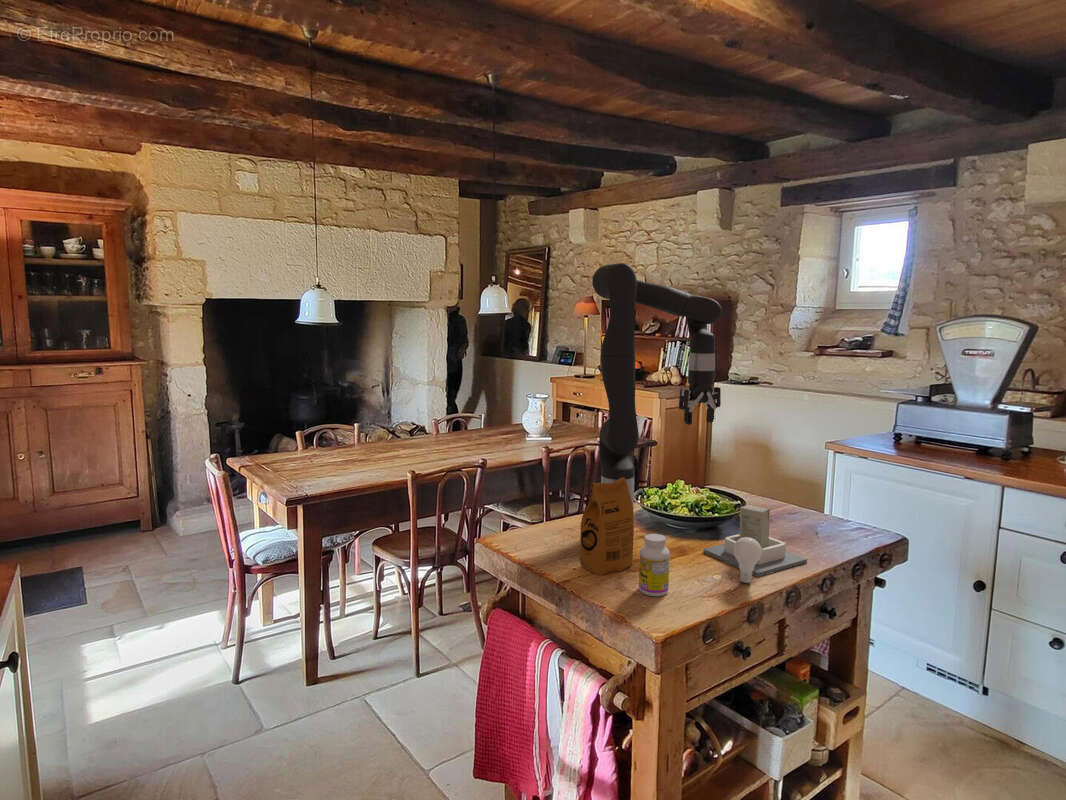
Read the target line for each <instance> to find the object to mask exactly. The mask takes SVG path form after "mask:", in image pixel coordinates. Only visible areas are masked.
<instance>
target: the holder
mask: <svg viewBox="0 0 1066 800" xmlns="http://www.w3.org/2000/svg"><path fill="white" fill-rule="evenodd" d="M739 539H740V533H739V534H735V535H730V536H726V537H725V538H724V539H723V540H724V541H723V543H722V544H718V545H714V546H710V547H706V548H705V547H704V548H703V552H704V553H703V554H706V555H708V554H709V555H708V556H710V555H711V556H710V557H712V556H713V558H714V557H715V559H717V560H719V559H720V560H719V561H721V560H722V561H721V562H723V561H724V562H723V563H725V562H726V563H725V564H728V565H730V564H731V565H730V566H732V565H733V566H732V567H734V566H735V568H736V567H737V569H739V570H740V568H739V563H738V561H737V560H736V558H735V556H734V553H733V547H734V544H735V543H736V541H737V540H739ZM806 562H808V558H806V557H803V556H800V555H797V554H795V553H793V552H790V551H787V543H786V542H784V541H781V540H779V539H776V538H774V537H771V536H769V547H766V548H762V555H761V558H760V560H759V561H758V562H757V563H756V564H755V567H754V570H753V571H752V576H754V575H755V576H754V577H756V576H759V577H762V576H765V575H764V574H766V575H768V574H767V573H769V574H772V573H771V572H773V573H776V572H779V571H778V570H780V571H783V570H782V569H784V570H786V569H785V568H787V569H790V568H789V567H791V568H793V567H792V566H794V567H796V566H795V565H798V566H800V565H799V564H801V565H803V564H802V563H805V564H807V563H806ZM775 571H776V572H775ZM761 575H762V576H761Z"/></svg>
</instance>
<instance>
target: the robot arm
mask: <svg viewBox="0 0 1066 800" xmlns="http://www.w3.org/2000/svg"><path fill="white" fill-rule="evenodd" d="M591 284H592V287H593V289H594V291H595V293H596V294H597V295H598V296H599V297H601V298H603V299H607V300H608V301H609V320H608V325H607V327H606V330H605V333H604V336H603V339H602V342H601V347H600V367H601V368H600V369H601V376H602V382H603V386H604V389H605V393H606V397H607V400H608V418H607V420H606V421H604V423H603V424H602V425H601V428H600V431H599V437H598V438H599V441H598V443H599V445H598V446H599V466H600V470H601V471H600V473H601V474H600V476H601V477H600V478H601V479H600V481H601V482H600V483H614V482H615V481H617V480H618V479H620V478H622V477H624V478H625V479H626V483H627V486H628V489H629V494H630V496H631V500H632V503H633V507H634V503H635V501H634V499H635V498H634V497H635V470H636V469H635V465H634V463H633V459H632V452H633V451H635V449H636V447H637V445H638V443H639V440H640V439H639V438H640V436H639V435H640V433H639V427H638V419H637V411H636V410H637V409H636V344H635V338H636V337H635V333H636V332H635V311H636V310H635V309H636V304H640V305H643V306H646V307H649V308H652V309H655V310H658V311H661V312H664V313H666V314H670V315H673V316H676V317H680V318H681V317H682V318H683V317H684V318H686V319H685V320H686V324H687V329H688V330H687V331H688V334H689V339H690V342H689V357H688V368H687V369H688V370H687V384H688V385H689V386H688V387H689V388H688V389H685V388H681V389H679V401H678V409H679V410H682V411H683V412H684V413H683V414H684V417H683V422H684V424H685V425H692V423H693V410H694V408H695V407H697V406H698V404H702V403H703V404H705V406H706V407H707V409H706V419H705V420H706V422H707V423H713V422H714V420H715V410H716V409H717V408H720V407H721V404H722V403H721V402H722V401H721V399H722V397H721V396H722V395H721V387H718V386H714V384H715V375H716V374H715V373H716V370H715V369H716V357H715V353H716V352H715V350H716V337H715V334H713V332H710V331H709V330H708V325H712V324H715V323H717V322H719V321H720V319H721V318H722V315H723V308H722V305H721V304H720V303H719V302H718V301H717V300H715V299H712V298H711V297H706V296H701V295H698V294H697V295H696V294H691V293H688V292H686V291H683V290H680V289H678V288H675V287H671V286H667V285H663V284H658V283H657V284H656V283H653V282H647V281H643V280H639V279H637V275H636V272H635V270H634V269H633V267H632V266H631V265H630V264H628V263H626V262H625V263H623V262H620V263H613V264H607V265H603V266H600V267H599V268H598V269H597V270H596V271H595V272H594V274H593V277H592V283H591Z"/></svg>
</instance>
